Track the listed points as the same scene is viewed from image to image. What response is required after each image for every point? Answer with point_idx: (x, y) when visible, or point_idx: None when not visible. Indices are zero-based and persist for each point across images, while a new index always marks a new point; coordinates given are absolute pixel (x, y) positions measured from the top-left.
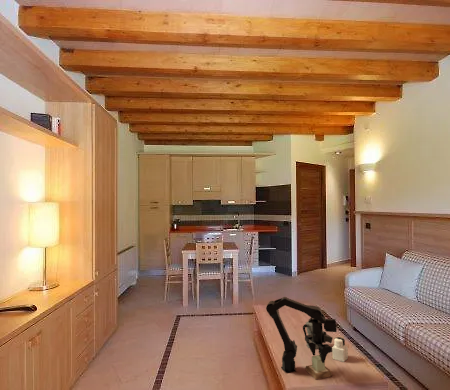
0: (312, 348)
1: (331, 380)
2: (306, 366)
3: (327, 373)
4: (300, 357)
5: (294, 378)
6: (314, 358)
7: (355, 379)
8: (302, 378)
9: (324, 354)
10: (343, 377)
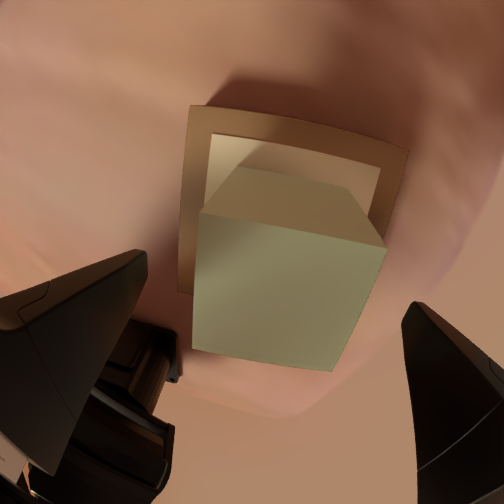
0: (84, 364)
1: (429, 203)
2: (186, 292)
3: (390, 201)
4: (19, 174)
5: (249, 381)
6: (269, 362)
7: (500, 40)
8: None
9: (489, 420)
10: (451, 76)
